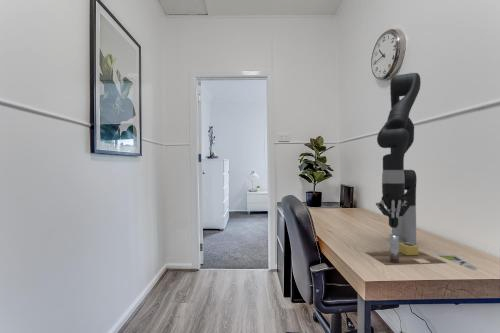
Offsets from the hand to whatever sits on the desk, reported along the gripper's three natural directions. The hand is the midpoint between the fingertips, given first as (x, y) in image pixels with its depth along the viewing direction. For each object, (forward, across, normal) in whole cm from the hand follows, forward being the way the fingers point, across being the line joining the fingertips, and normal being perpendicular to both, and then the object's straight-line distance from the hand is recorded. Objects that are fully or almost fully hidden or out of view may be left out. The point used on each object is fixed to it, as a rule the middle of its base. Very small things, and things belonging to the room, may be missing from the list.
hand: (393, 227), depth 101 cm
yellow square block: (+10, -5, +1) cm, 11 cm away
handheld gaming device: (+12, -18, +6) cm, 23 cm away
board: (+11, -1, +5) cm, 12 cm away
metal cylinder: (+10, +5, +9) cm, 14 cm away
